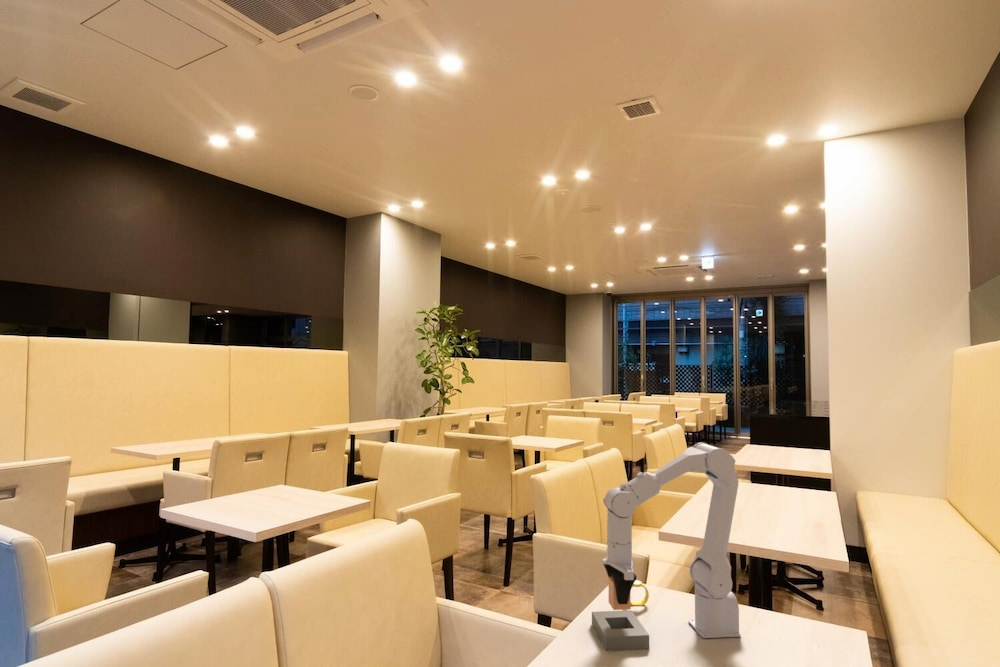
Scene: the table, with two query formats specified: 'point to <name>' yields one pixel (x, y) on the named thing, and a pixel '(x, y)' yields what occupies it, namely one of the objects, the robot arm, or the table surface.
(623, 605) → the plug
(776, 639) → the table surface
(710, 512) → the robot arm
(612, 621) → the socket block
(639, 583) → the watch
